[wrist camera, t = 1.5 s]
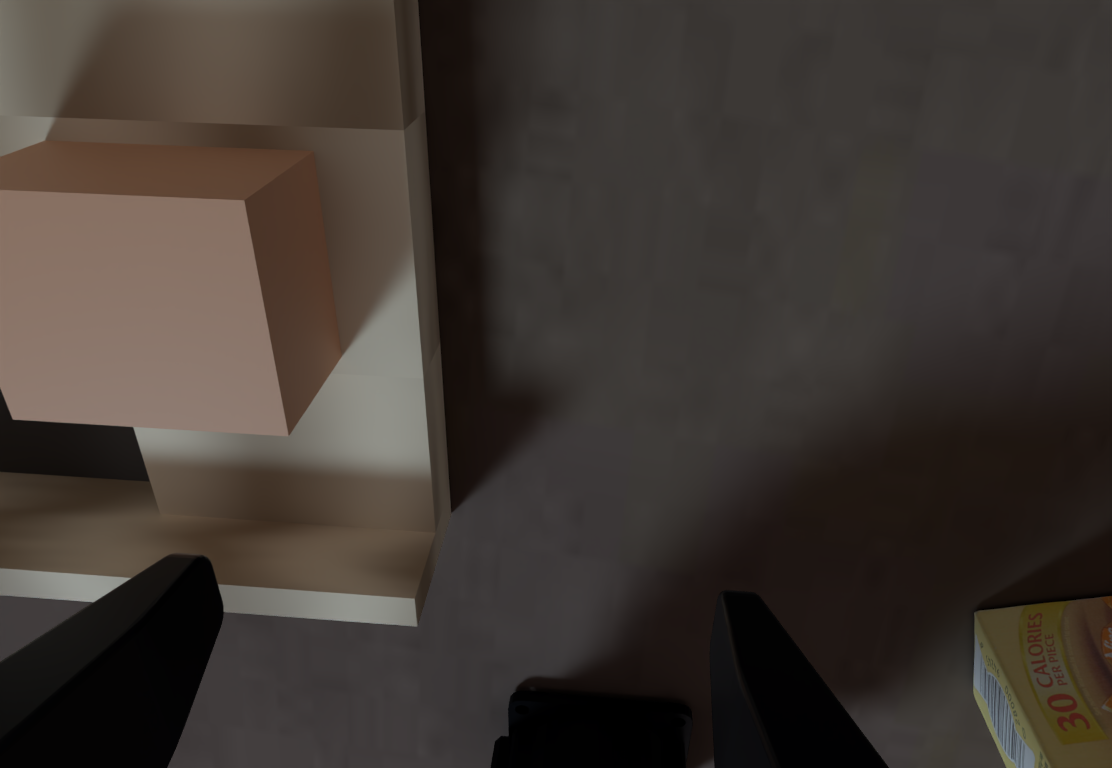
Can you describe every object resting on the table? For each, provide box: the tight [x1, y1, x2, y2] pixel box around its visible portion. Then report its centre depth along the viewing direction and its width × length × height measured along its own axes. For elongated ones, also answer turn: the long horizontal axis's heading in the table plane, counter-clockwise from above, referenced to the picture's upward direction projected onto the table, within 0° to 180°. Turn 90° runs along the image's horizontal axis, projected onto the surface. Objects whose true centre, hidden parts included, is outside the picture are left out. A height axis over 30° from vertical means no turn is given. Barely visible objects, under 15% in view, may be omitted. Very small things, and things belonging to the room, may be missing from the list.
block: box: [0, 141, 342, 436], centre depth 17 cm, size 6×5×4 cm
